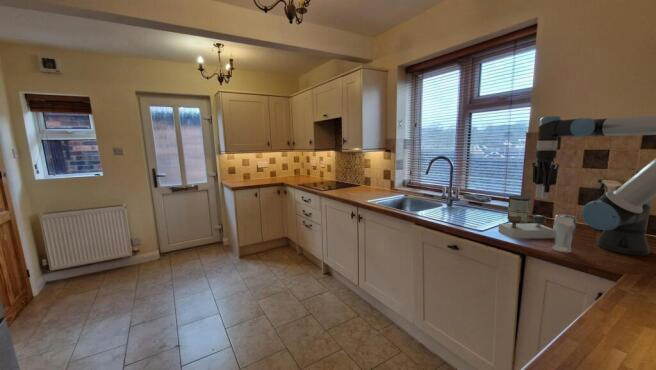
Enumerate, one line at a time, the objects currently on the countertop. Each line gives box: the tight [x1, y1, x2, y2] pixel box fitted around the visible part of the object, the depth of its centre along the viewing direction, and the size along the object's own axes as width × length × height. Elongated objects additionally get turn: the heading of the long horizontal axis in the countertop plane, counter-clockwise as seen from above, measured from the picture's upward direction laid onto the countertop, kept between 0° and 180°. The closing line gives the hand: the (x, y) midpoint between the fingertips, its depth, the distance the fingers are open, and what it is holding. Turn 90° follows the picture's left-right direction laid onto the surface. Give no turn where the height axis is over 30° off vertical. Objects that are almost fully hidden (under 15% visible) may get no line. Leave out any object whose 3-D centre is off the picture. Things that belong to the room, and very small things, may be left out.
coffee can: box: [507, 195, 531, 224], centre depth 156 cm, size 10×10×14 cm
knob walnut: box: [507, 215, 522, 228], centre depth 131 cm, size 5×5×6 cm
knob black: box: [532, 214, 547, 227], centre depth 131 cm, size 5×5×6 cm
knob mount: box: [498, 222, 554, 239], centre depth 132 cm, size 11×20×4 cm, turn 89°
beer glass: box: [551, 213, 577, 254], centre depth 111 cm, size 7×7×15 cm
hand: (541, 198), depth 129 cm, fingers open, 3 cm apart
